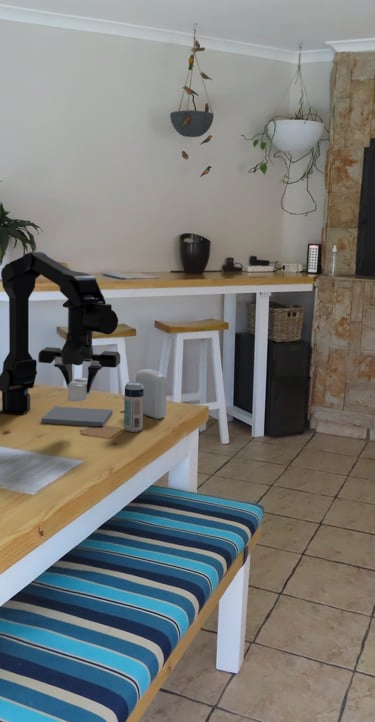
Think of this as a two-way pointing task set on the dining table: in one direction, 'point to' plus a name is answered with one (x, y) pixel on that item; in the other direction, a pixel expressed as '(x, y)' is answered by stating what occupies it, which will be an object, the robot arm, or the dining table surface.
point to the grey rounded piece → (78, 389)
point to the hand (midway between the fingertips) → (79, 392)
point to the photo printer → (153, 393)
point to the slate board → (77, 416)
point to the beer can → (133, 407)
